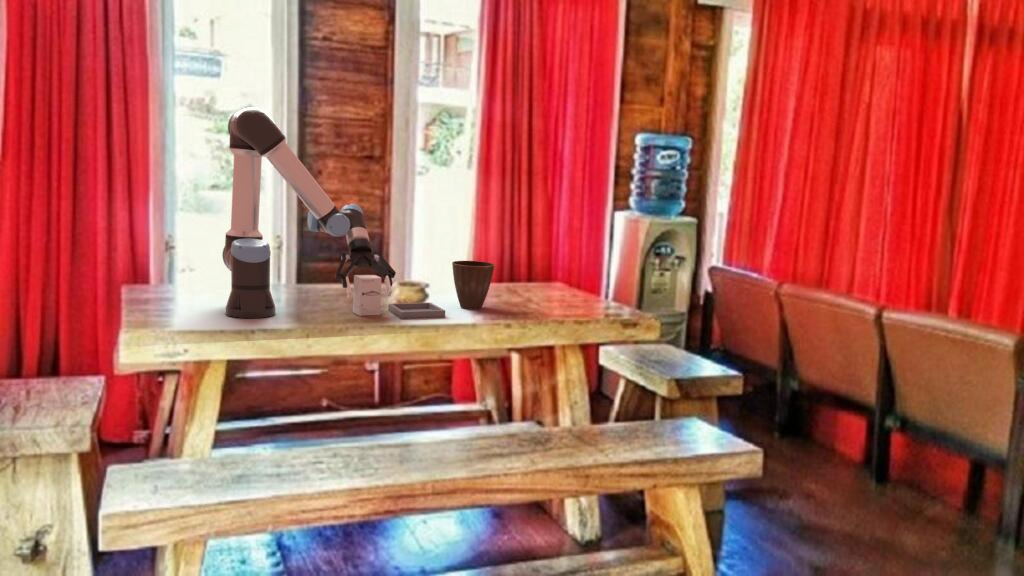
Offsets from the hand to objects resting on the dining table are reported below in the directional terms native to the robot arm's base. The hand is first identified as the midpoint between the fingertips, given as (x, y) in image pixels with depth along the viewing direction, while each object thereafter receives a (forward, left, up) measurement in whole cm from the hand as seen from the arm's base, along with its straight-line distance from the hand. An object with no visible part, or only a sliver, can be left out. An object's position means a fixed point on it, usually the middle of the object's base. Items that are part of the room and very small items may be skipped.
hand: (370, 294), depth 265 cm
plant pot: (+38, +5, -7) cm, 39 cm away
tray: (+15, -3, -7) cm, 17 cm away
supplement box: (-1, +1, -7) cm, 7 cm away
